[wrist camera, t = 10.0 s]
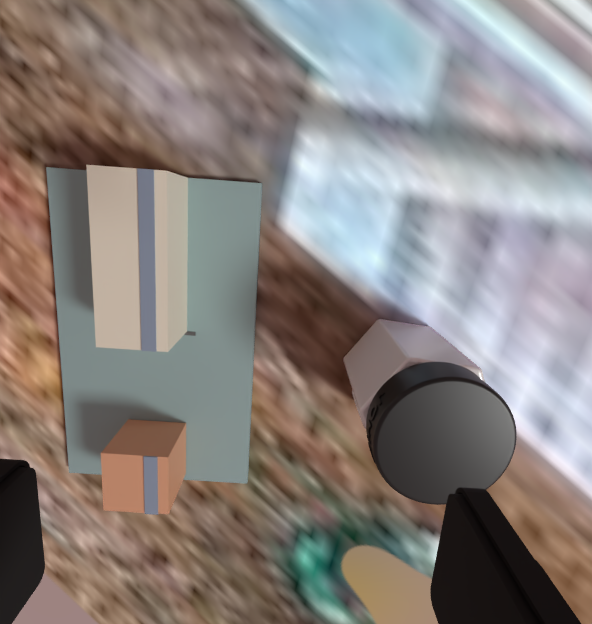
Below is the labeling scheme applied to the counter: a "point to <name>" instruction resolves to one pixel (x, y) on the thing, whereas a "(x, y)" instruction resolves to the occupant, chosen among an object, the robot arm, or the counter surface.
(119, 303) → the beige box
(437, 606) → the robot arm
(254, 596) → the counter surface
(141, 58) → the counter surface
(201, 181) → the mat
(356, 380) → the jar
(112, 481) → the stub
